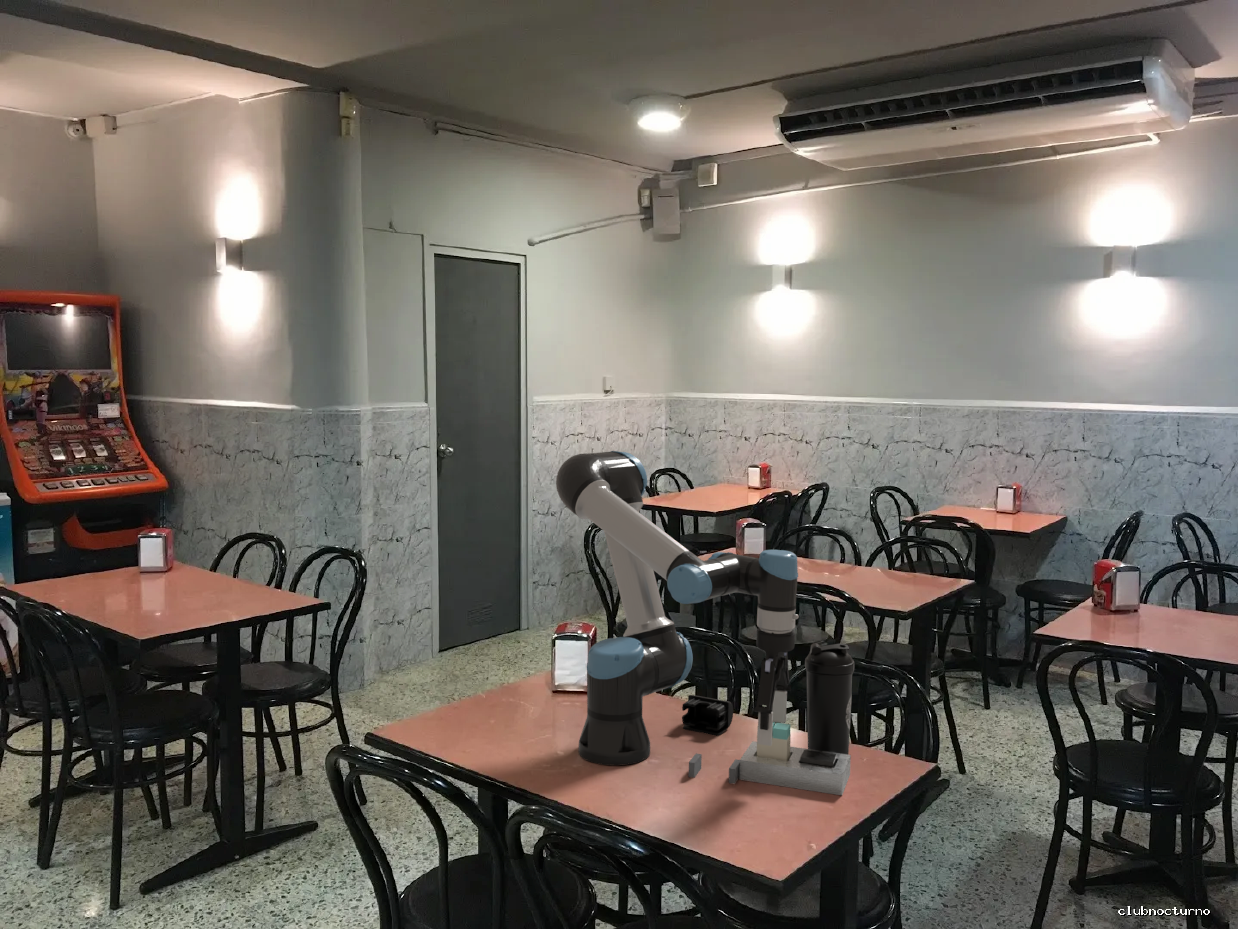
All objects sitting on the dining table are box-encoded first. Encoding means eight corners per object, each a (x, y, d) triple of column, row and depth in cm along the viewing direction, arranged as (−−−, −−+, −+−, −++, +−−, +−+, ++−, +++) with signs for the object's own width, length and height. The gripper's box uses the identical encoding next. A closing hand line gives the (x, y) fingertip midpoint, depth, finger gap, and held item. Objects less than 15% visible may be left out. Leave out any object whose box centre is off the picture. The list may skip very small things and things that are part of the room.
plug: (756, 774, 197) (757, 726, 196) (760, 768, 200) (761, 720, 200) (786, 779, 195) (787, 730, 194) (789, 773, 198) (790, 724, 197)
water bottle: (855, 761, 204) (857, 651, 202) (805, 759, 205) (807, 650, 203) (849, 745, 214) (851, 640, 212) (801, 743, 215) (803, 639, 214)
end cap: (733, 727, 224) (733, 698, 224) (720, 737, 218) (721, 707, 218) (693, 720, 229) (693, 691, 229) (680, 729, 223) (680, 699, 222)
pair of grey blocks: (688, 776, 196) (688, 762, 195) (695, 767, 200) (695, 753, 200) (734, 784, 192) (735, 769, 192) (740, 774, 197) (741, 760, 197)
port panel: (739, 779, 194) (739, 755, 194) (752, 760, 205) (752, 736, 204) (842, 795, 187) (842, 770, 187) (850, 774, 198) (850, 750, 197)
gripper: (782, 646, 182) (777, 757, 184) (806, 616, 206) (802, 715, 208) (742, 642, 185) (738, 751, 187) (770, 612, 208) (766, 710, 210)
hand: (771, 732), depth 197 cm, fingers open, 13 cm apart
